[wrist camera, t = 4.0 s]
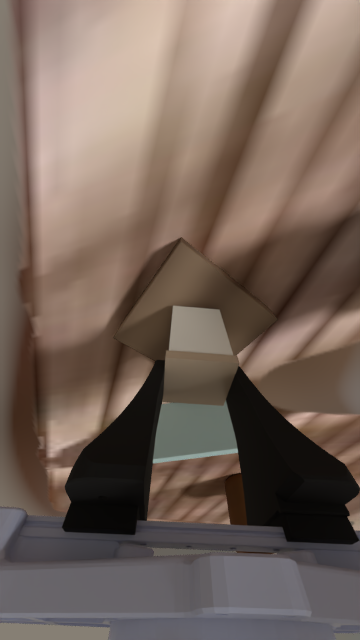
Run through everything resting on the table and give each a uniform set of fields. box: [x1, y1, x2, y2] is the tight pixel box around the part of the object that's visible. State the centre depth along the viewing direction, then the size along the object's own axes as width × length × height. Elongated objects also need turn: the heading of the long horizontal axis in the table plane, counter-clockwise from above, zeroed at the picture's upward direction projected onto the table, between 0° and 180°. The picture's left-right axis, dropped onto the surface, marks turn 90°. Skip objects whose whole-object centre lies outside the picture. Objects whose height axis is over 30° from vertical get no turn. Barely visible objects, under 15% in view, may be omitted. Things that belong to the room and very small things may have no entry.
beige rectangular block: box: [163, 306, 239, 406], centre depth 15 cm, size 4×4×6 cm
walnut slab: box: [114, 237, 278, 361], centre depth 19 cm, size 11×11×3 cm
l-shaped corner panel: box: [153, 401, 238, 463], centre depth 27 cm, size 12×12×8 cm
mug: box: [225, 474, 273, 554], centre depth 36 cm, size 12×8×9 cm, turn 77°
